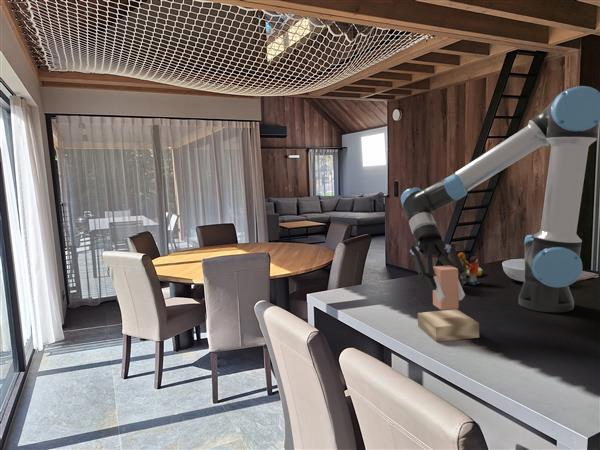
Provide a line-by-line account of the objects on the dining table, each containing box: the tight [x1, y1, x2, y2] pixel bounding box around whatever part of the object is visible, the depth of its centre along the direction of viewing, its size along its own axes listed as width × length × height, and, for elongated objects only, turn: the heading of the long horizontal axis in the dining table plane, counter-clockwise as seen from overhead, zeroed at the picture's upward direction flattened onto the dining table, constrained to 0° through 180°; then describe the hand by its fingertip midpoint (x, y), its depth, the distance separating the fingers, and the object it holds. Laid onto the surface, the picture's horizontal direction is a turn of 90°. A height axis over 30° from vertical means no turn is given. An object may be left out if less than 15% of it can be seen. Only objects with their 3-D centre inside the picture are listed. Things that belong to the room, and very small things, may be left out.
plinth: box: [417, 308, 480, 343], centre depth 112 cm, size 12×12×4 cm
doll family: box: [447, 252, 480, 285], centre depth 158 cm, size 21×10×13 cm, turn 132°
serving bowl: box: [501, 258, 525, 283], centre depth 159 cm, size 21×21×7 cm
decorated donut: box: [466, 267, 484, 278], centre depth 175 cm, size 10×11×4 cm
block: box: [432, 265, 460, 311], centre depth 111 cm, size 5×5×11 cm
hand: (451, 298), depth 108 cm, fingers closed on block, 5 cm apart
